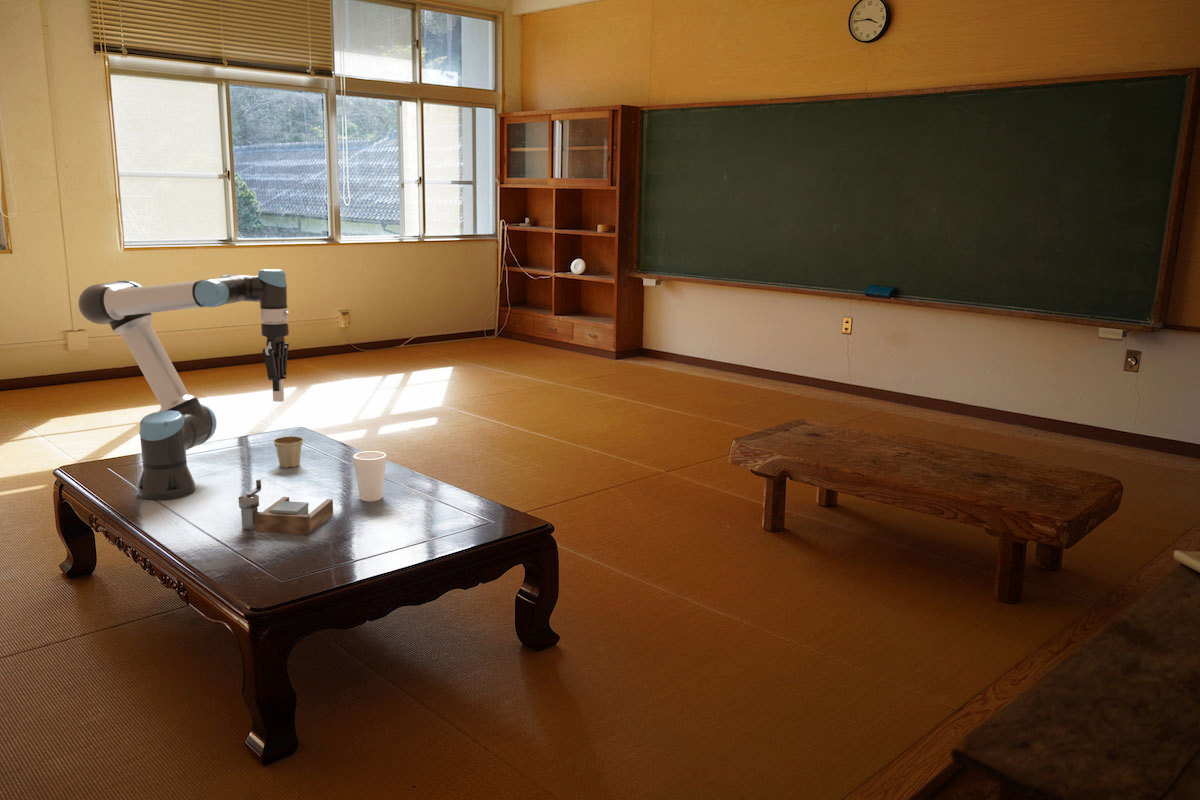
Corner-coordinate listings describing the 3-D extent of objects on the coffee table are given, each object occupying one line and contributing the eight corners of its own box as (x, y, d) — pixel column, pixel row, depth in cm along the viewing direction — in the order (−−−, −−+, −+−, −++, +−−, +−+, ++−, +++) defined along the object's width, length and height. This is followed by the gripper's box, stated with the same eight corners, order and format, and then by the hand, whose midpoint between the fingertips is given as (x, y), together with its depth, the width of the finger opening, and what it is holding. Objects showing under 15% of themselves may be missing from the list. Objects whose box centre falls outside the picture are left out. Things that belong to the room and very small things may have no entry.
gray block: (272, 531, 243) (270, 509, 242) (283, 522, 250) (282, 501, 249) (298, 532, 242) (297, 511, 241) (309, 523, 249) (308, 502, 248)
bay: (255, 532, 242) (254, 513, 241) (284, 510, 259) (283, 493, 258) (307, 535, 241) (307, 516, 239) (333, 512, 258) (332, 495, 257)
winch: (236, 530, 243) (234, 489, 240) (252, 518, 252) (250, 479, 249) (255, 531, 242) (252, 490, 240) (270, 519, 251) (268, 480, 249)
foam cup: (393, 496, 273) (392, 453, 271) (374, 504, 265) (372, 461, 263) (368, 491, 277) (366, 449, 275) (347, 499, 269) (346, 456, 266)
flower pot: (299, 469, 297) (298, 443, 295) (270, 469, 297) (268, 443, 295) (308, 461, 306) (307, 436, 304) (280, 461, 306) (279, 435, 304)
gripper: (277, 325, 263) (281, 406, 268) (296, 320, 276) (299, 397, 281) (252, 324, 264) (256, 405, 269) (272, 319, 277) (276, 396, 282)
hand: (278, 400), depth 275 cm, fingers closed
